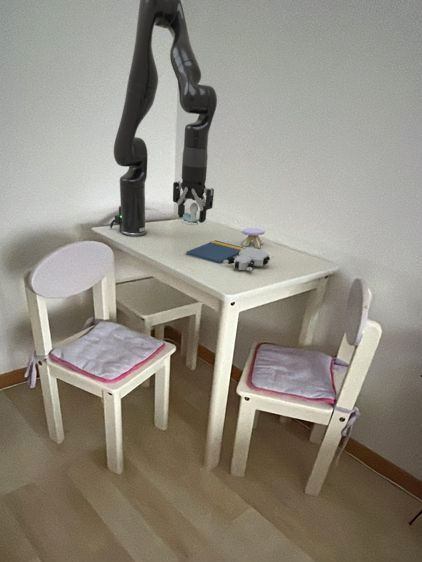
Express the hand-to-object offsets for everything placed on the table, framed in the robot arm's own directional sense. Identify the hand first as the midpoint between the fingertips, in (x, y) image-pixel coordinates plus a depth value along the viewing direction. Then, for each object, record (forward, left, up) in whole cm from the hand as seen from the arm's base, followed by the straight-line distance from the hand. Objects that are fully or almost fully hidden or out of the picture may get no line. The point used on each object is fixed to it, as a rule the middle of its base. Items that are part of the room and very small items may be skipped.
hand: (191, 219), depth 138 cm
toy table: (+7, +33, -14) cm, 37 cm away
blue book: (+2, +15, -14) cm, 21 cm away
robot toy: (+18, +9, -14) cm, 24 cm away
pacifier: (0, 0, -1) cm, 1 cm away
